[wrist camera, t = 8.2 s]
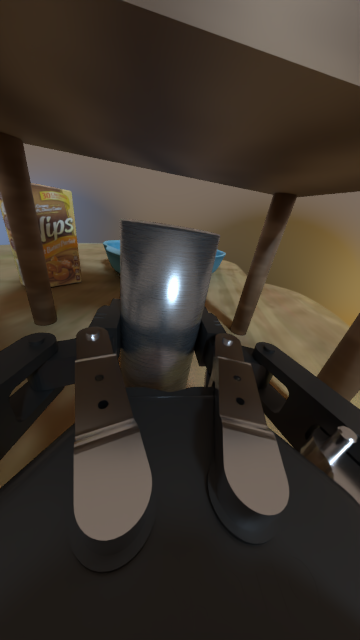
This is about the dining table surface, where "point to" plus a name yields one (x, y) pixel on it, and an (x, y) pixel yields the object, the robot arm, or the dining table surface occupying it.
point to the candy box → (53, 234)
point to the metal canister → (162, 300)
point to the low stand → (186, 111)
